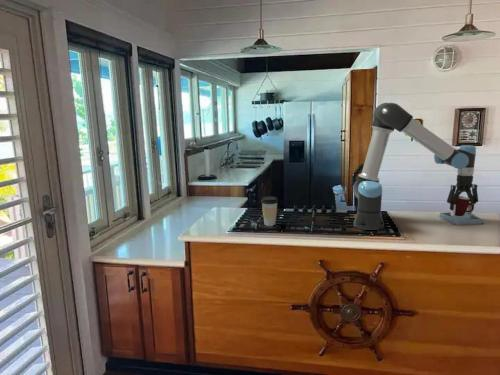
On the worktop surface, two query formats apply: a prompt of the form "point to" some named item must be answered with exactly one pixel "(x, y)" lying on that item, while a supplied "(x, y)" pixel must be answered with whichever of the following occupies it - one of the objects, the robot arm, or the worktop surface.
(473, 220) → the tray
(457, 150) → the robot arm
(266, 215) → the coffee cup
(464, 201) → the mug
